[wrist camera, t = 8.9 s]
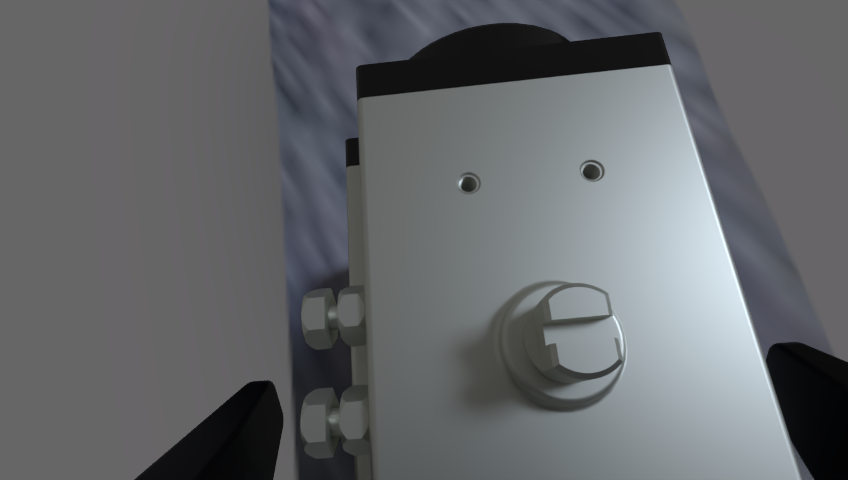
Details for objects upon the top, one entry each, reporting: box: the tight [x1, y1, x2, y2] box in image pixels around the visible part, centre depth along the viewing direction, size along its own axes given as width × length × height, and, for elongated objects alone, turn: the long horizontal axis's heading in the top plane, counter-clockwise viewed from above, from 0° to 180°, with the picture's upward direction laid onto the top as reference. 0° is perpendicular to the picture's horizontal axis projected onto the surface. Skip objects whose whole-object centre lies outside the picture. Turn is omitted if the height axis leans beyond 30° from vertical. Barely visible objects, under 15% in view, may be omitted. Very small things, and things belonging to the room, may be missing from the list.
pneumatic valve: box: [300, 23, 803, 480], centre depth 10 cm, size 6×12×12 cm, turn 5°
